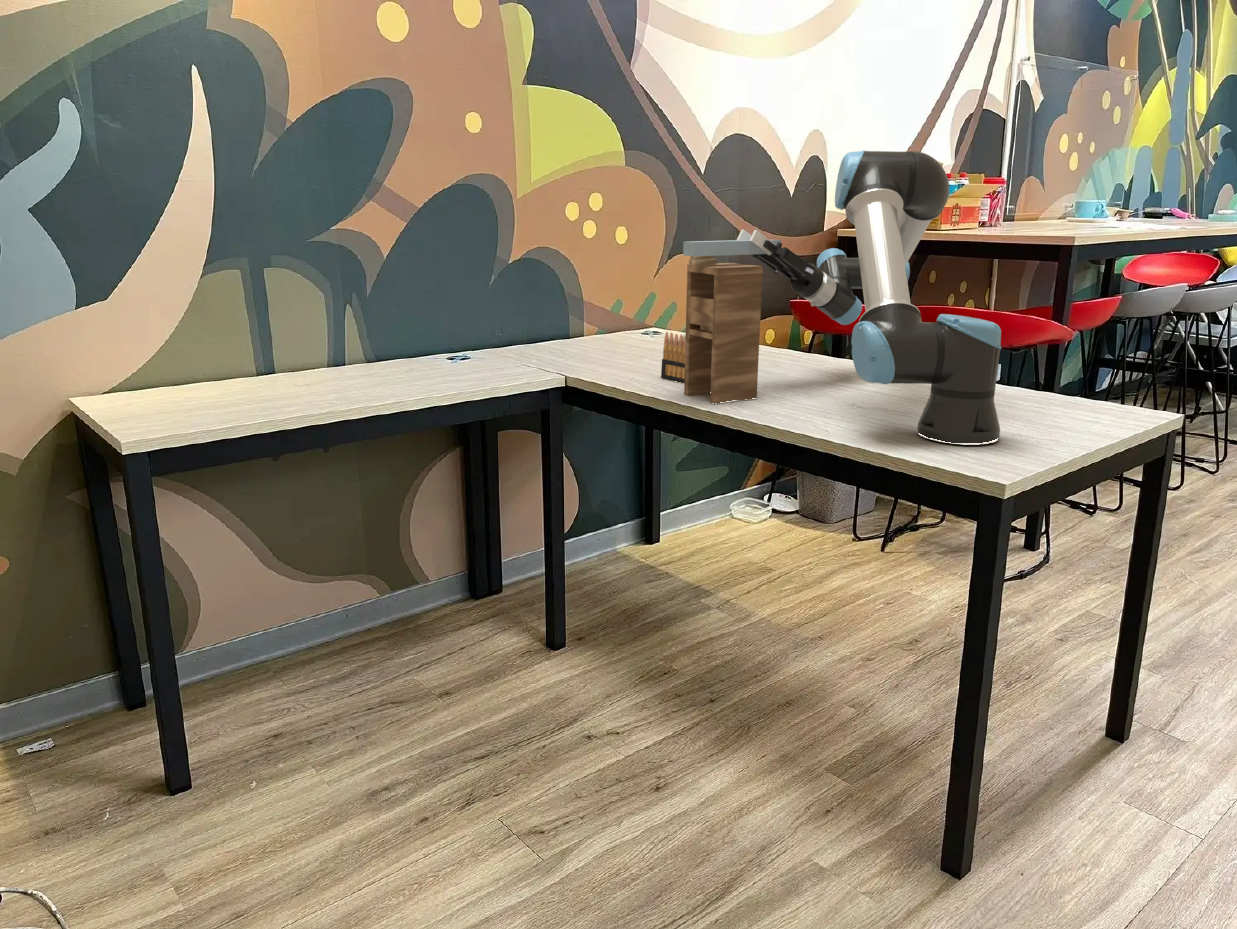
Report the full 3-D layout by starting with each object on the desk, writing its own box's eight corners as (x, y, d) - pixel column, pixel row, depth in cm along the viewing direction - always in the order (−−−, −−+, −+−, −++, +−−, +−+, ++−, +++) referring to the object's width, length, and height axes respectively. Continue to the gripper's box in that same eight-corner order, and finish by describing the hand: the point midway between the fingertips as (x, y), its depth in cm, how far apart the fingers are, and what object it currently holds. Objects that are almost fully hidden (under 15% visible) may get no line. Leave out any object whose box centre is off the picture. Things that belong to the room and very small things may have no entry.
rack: (756, 398, 215) (763, 255, 205) (714, 404, 209) (719, 256, 200) (725, 389, 225) (730, 252, 215) (684, 394, 219) (687, 253, 210)
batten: (780, 253, 213) (781, 239, 212) (693, 256, 201) (693, 242, 201) (769, 252, 216) (769, 239, 215) (683, 255, 205) (683, 241, 204)
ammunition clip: (695, 384, 231) (696, 335, 228) (689, 384, 230) (690, 336, 227) (666, 377, 239) (667, 330, 236) (660, 378, 238) (661, 331, 235)
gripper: (830, 301, 215) (763, 251, 202) (782, 295, 229) (716, 248, 217) (844, 272, 215) (778, 220, 202) (795, 267, 229) (731, 219, 217)
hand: (746, 235), depth 209 cm, fingers closed on batten, 4 cm apart
